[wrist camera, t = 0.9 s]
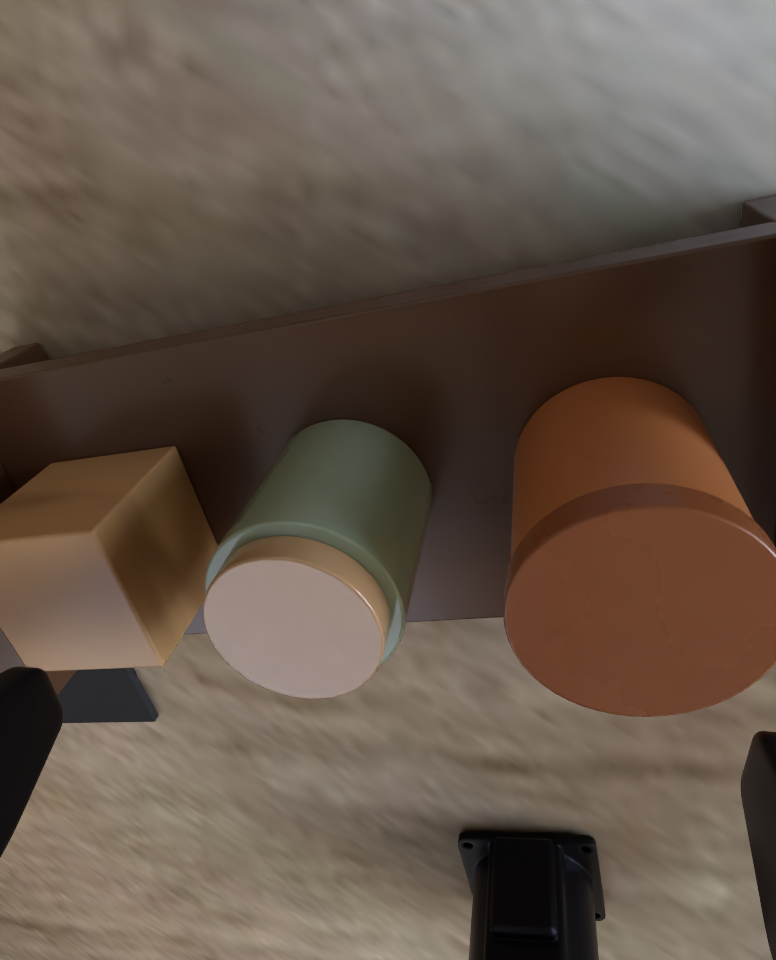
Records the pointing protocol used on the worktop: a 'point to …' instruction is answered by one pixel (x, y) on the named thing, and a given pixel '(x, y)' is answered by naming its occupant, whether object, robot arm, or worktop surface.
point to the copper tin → (634, 556)
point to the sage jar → (321, 562)
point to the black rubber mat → (105, 697)
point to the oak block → (103, 562)
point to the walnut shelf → (427, 390)
